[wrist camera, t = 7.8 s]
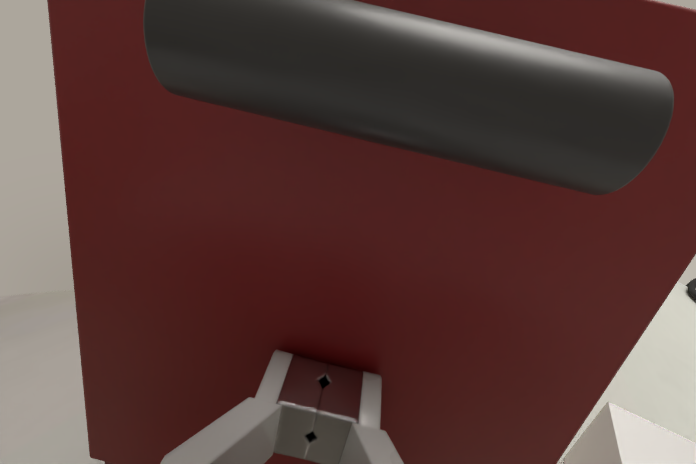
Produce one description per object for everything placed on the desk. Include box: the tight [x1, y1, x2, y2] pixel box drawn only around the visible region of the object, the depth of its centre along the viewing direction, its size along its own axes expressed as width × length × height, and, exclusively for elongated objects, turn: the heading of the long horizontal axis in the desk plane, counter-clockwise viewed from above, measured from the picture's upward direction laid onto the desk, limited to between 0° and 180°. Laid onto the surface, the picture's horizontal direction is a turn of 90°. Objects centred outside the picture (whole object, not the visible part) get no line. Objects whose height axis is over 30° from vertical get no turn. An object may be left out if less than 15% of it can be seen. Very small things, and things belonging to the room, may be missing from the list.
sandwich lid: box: [47, 0, 696, 464], centre depth 8 cm, size 16×14×5 cm
